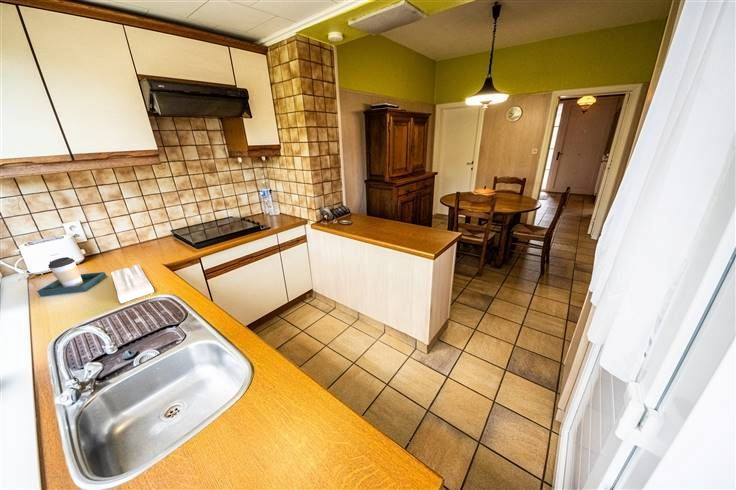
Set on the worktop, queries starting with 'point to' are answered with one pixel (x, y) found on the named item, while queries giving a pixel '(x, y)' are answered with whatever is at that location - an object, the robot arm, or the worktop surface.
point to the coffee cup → (66, 272)
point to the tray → (88, 282)
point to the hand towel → (131, 283)
